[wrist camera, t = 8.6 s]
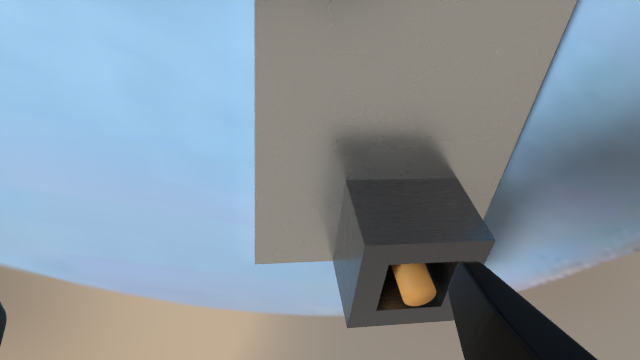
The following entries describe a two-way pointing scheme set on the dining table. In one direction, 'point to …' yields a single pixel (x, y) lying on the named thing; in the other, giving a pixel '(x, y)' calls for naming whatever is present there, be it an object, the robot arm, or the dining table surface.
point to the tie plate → (386, 103)
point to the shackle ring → (403, 246)
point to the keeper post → (414, 283)
